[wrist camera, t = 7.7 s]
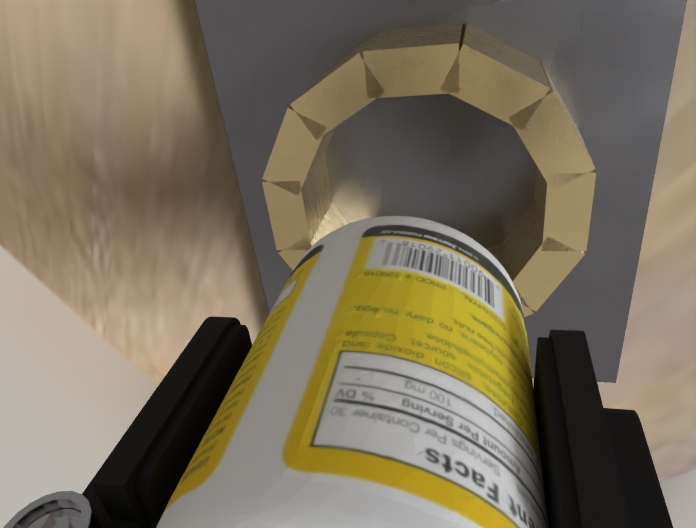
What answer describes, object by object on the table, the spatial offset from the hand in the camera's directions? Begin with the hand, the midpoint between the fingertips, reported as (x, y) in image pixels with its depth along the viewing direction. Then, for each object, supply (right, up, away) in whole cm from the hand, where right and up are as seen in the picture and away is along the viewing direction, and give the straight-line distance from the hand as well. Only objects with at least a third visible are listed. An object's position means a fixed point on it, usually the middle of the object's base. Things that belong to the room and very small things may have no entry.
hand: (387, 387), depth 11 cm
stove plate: (+2, +6, +9) cm, 11 cm away
